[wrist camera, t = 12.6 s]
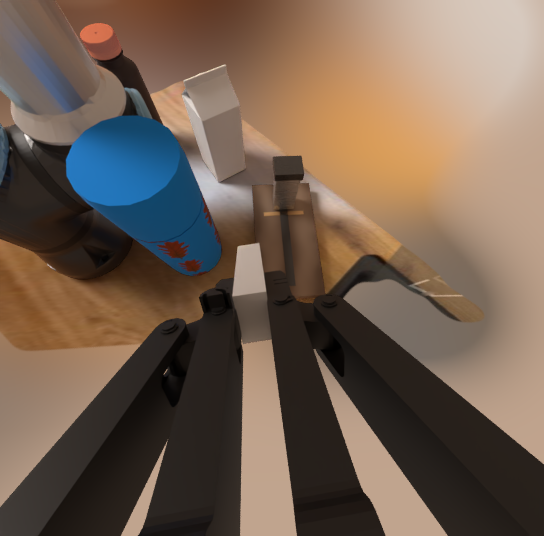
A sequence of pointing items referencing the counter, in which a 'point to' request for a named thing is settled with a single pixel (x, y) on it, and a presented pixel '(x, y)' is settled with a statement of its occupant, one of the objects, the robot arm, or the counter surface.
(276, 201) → the fader handle
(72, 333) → the counter surface
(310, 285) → the console
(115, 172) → the thermos
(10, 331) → the counter surface
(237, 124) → the milk carton
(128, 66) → the bottle
